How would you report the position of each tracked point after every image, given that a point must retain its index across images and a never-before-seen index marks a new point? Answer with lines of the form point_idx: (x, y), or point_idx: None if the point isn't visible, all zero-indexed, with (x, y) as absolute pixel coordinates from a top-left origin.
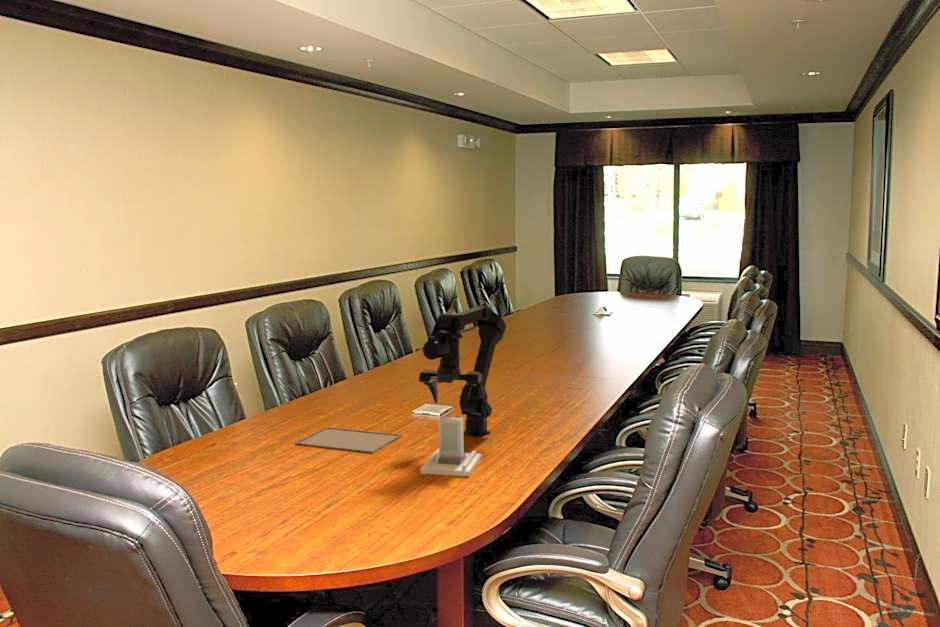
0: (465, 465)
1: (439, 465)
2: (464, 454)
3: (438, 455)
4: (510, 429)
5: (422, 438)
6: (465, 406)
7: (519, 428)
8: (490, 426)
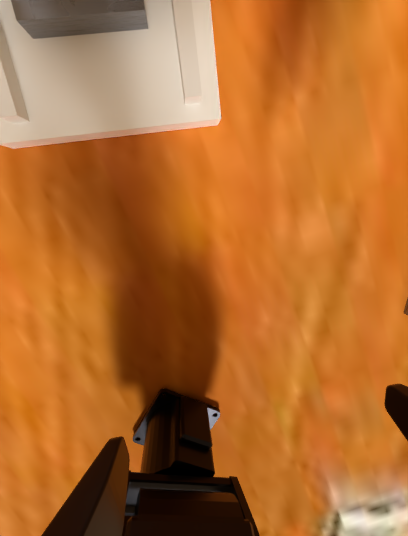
0: None
1: None
2: (15, 10)
3: (175, 28)
4: None
5: (331, 316)
6: (211, 511)
7: None
8: None
